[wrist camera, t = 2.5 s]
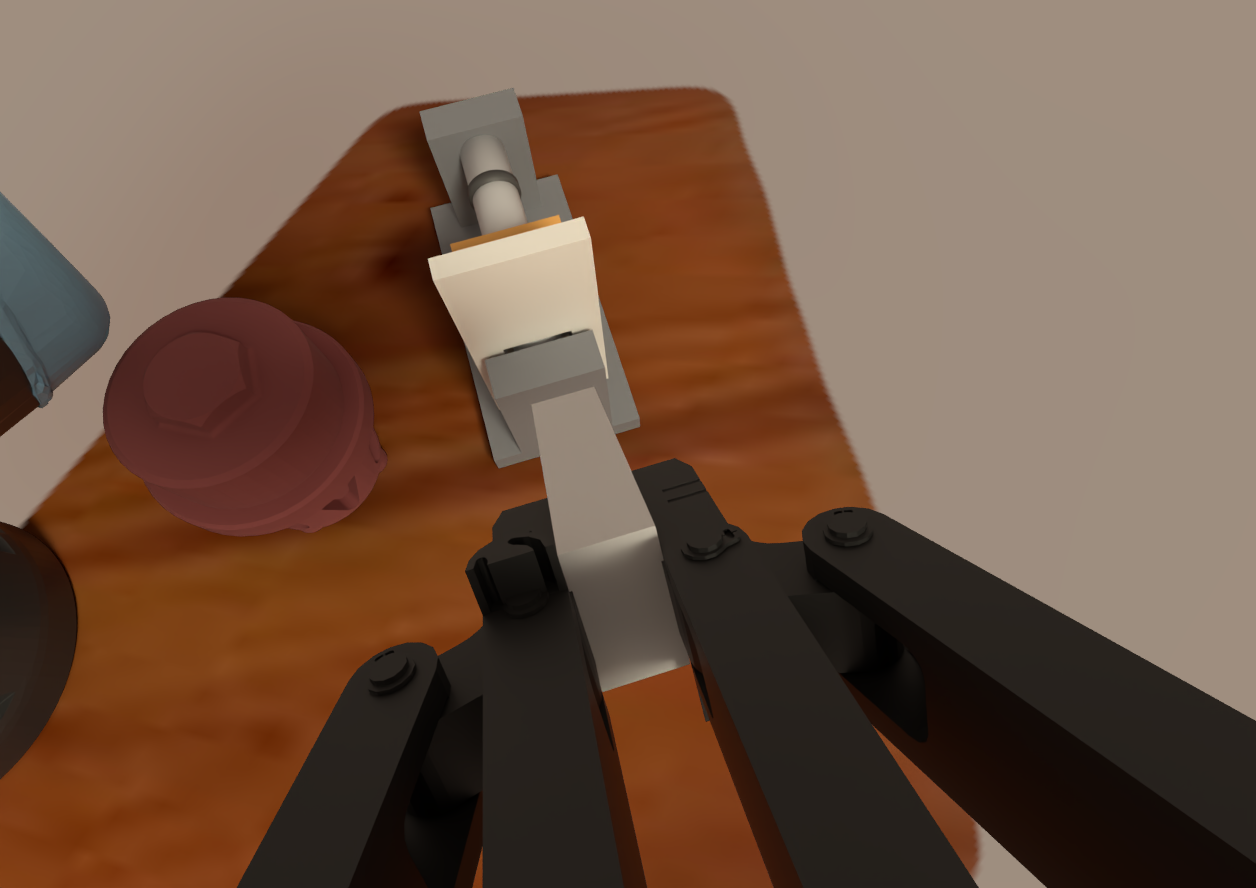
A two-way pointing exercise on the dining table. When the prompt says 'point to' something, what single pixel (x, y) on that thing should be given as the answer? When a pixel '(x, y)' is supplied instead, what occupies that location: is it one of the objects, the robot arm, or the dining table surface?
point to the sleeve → (521, 290)
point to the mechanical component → (244, 420)
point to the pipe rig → (493, 201)
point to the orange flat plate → (505, 233)
